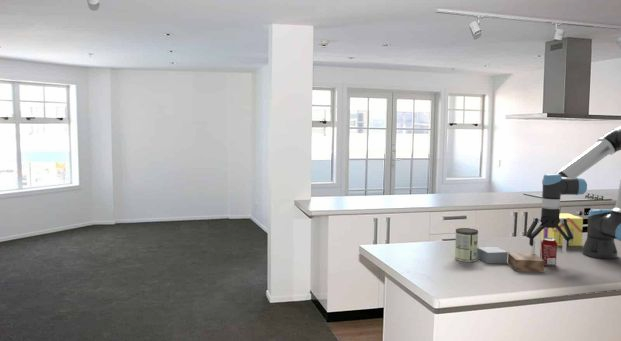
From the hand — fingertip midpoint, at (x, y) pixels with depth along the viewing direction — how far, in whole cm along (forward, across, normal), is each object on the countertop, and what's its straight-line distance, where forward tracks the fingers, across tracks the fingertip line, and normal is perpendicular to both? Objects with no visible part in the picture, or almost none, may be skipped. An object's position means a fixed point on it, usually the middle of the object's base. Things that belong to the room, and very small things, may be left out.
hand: (548, 253), depth 227 cm
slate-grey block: (+5, +24, -4) cm, 25 cm away
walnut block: (+5, +12, +7) cm, 15 cm away
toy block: (+6, -23, -48) cm, 54 cm away
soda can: (+5, 0, 0) cm, 5 cm away
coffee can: (+6, +36, -4) cm, 37 cm away
